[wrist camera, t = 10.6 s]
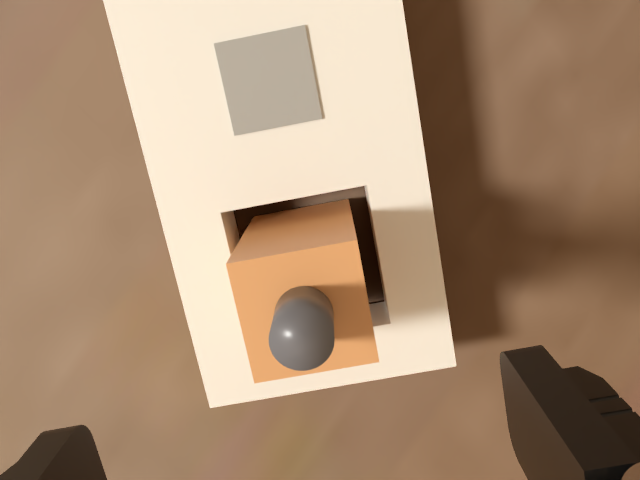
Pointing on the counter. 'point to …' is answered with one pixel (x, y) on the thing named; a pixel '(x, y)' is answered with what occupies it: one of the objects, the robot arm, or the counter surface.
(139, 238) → the counter surface
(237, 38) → the power strip
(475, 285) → the counter surface
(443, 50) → the counter surface
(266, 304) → the block
